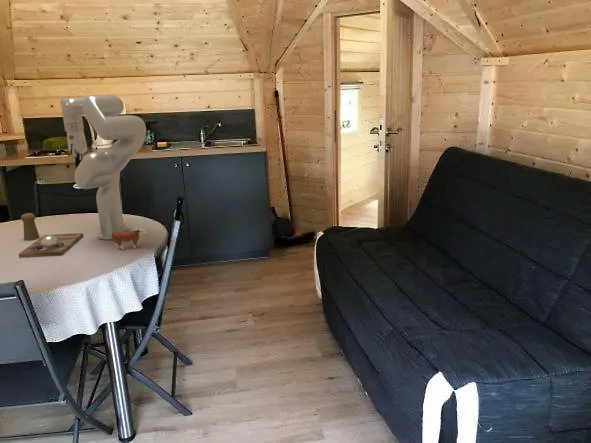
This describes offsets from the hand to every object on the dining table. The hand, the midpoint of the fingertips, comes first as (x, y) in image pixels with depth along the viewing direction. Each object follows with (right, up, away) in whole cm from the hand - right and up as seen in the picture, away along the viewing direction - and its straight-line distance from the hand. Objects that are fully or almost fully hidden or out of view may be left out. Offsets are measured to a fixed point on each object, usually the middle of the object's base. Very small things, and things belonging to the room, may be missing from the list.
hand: (80, 168), depth 217 cm
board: (-3, -33, -18) cm, 38 cm away
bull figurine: (+30, -34, -22) cm, 51 cm away
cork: (-18, -31, -6) cm, 36 cm away
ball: (-2, -32, -23) cm, 39 cm away
